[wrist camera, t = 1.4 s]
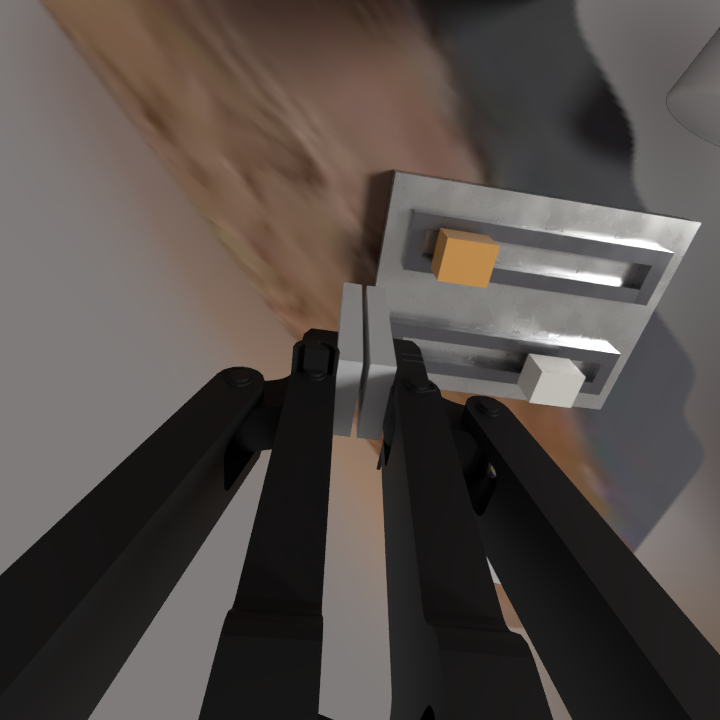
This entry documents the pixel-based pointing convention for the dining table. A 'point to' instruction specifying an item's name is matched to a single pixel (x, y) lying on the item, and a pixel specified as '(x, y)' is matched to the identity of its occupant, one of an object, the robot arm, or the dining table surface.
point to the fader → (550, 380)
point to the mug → (699, 94)
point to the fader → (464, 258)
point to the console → (524, 282)
